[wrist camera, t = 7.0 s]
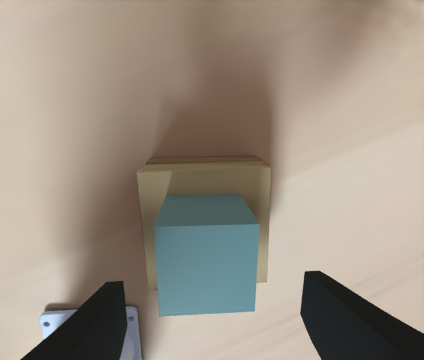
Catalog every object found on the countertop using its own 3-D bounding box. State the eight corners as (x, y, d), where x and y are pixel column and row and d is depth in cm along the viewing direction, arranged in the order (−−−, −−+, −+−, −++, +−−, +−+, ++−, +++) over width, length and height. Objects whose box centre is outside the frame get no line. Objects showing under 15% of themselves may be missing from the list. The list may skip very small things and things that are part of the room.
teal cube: (237, 258, 16) (254, 311, 11) (168, 261, 15) (159, 316, 11) (239, 193, 15) (259, 224, 10) (166, 194, 14) (154, 226, 10)
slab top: (257, 261, 19) (266, 282, 16) (154, 267, 18) (148, 290, 16) (260, 160, 17) (271, 167, 14) (144, 164, 16) (136, 172, 14)
